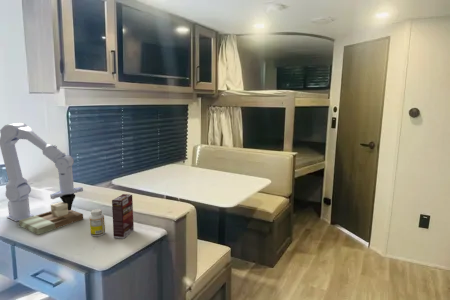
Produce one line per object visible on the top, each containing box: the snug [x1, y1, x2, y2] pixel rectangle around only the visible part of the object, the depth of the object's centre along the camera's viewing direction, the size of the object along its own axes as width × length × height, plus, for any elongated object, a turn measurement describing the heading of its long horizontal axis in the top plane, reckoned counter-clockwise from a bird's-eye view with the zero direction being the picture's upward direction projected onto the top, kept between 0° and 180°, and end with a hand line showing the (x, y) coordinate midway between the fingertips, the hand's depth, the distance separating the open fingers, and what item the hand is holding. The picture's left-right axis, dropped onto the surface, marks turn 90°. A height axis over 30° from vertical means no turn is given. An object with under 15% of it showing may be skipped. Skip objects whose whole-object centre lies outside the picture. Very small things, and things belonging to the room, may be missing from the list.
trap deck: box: [18, 209, 84, 235], centre depth 141 cm, size 16×20×2 cm
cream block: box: [50, 201, 68, 217], centre depth 143 cm, size 5×5×5 cm
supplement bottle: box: [89, 208, 106, 237], centre depth 128 cm, size 6×6×10 cm
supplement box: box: [111, 193, 135, 240], centre depth 128 cm, size 9×5×16 cm, turn 168°
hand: (68, 209), depth 147 cm, fingers closed
